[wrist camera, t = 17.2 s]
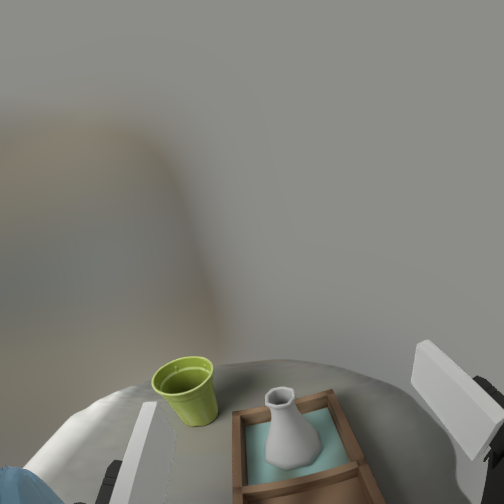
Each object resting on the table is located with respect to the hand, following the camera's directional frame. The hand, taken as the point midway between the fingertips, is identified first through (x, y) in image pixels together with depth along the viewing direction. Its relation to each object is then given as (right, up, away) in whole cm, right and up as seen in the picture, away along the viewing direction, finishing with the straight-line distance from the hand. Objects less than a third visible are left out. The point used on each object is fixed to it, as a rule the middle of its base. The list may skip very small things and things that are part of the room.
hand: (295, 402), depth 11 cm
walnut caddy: (+3, -19, +9) cm, 21 cm away
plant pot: (-10, -19, +26) cm, 33 cm away
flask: (+3, -17, +15) cm, 23 cm away
